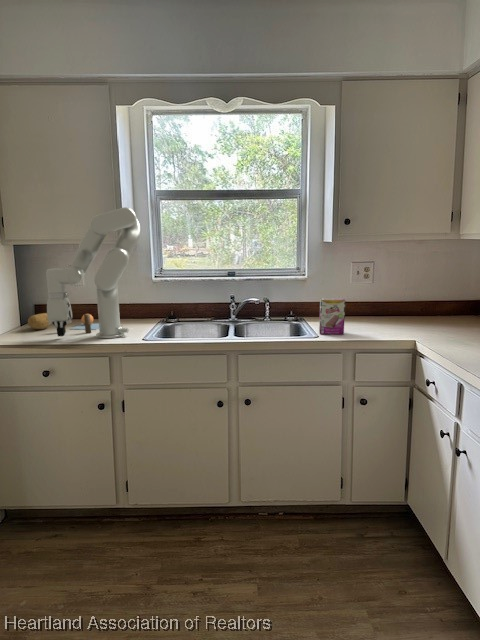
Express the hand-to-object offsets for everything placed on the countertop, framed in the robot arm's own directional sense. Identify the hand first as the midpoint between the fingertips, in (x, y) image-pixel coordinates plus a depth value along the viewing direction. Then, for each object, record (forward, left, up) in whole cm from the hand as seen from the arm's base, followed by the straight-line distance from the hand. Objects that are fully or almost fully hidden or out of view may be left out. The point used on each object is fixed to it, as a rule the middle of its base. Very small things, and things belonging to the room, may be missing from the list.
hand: (61, 335), depth 199 cm
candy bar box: (-123, -20, -2) cm, 125 cm away
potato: (+22, -20, -2) cm, 30 cm away
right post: (-6, -13, -2) cm, 15 cm away
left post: (+6, -13, -2) cm, 15 cm away
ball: (+2, -31, +2) cm, 31 cm away
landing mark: (0, -27, -2) cm, 27 cm away
